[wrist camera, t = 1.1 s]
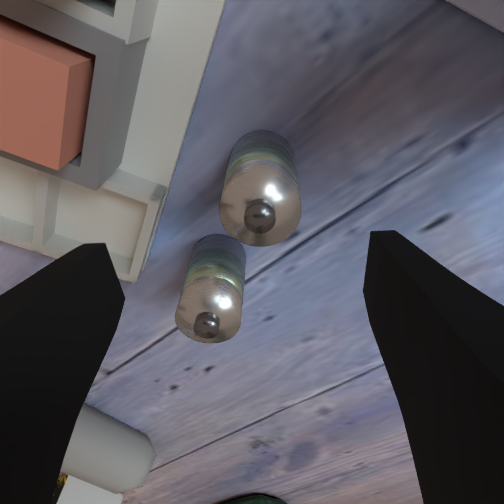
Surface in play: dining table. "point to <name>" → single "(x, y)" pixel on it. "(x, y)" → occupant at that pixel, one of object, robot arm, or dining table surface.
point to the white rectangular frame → (112, 126)
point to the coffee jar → (256, 500)
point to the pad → (42, 95)
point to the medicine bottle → (82, 493)
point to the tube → (107, 452)
